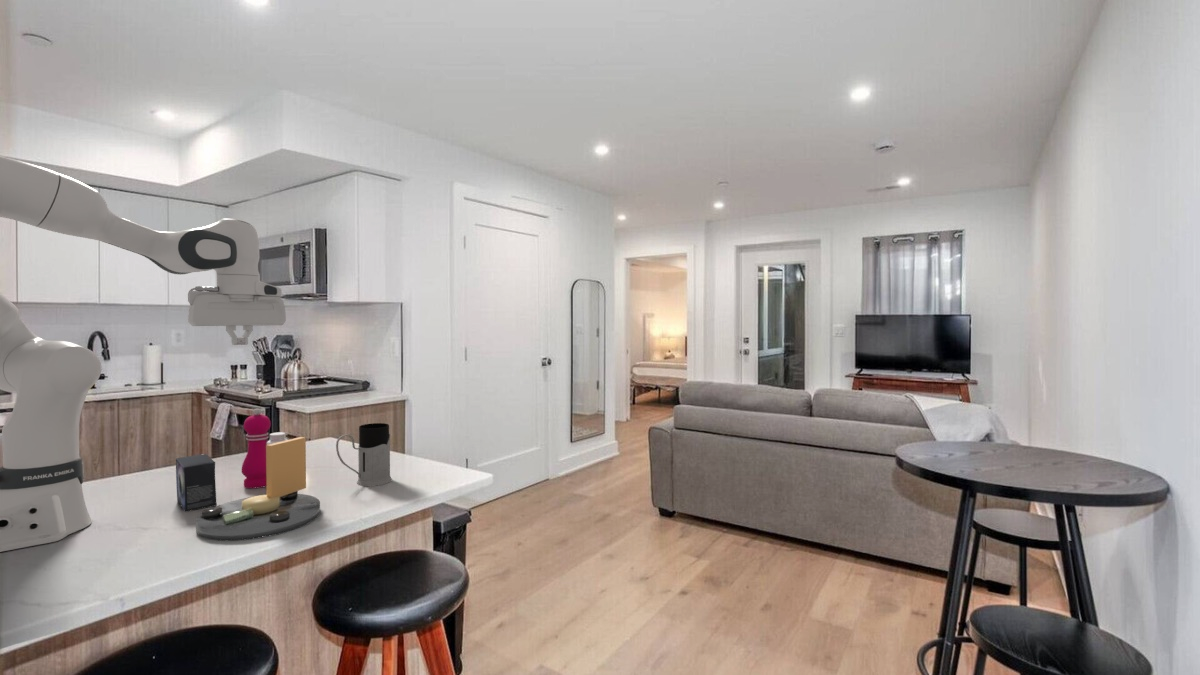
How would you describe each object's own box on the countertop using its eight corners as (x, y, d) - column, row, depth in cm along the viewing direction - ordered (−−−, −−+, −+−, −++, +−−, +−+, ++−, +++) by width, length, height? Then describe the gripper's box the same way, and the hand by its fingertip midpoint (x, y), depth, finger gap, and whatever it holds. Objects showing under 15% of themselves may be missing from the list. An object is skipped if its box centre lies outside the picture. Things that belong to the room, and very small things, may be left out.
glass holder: (397, 481, 151) (397, 425, 150) (343, 493, 140) (343, 433, 140) (382, 474, 157) (382, 421, 156) (330, 485, 146) (329, 428, 146)
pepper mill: (263, 489, 143) (262, 411, 142) (235, 488, 143) (233, 410, 142) (280, 481, 150) (279, 406, 149) (253, 480, 150) (252, 406, 149)
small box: (174, 501, 133) (173, 457, 133) (207, 495, 138) (206, 452, 137) (183, 512, 126) (182, 466, 125) (217, 505, 130) (216, 461, 130)
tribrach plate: (221, 550, 106) (221, 529, 106) (179, 522, 120) (179, 503, 120) (339, 516, 124) (339, 498, 124) (291, 495, 138) (291, 479, 138)
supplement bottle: (293, 466, 164) (293, 431, 164) (280, 471, 158) (280, 435, 158) (275, 465, 164) (275, 431, 164) (262, 471, 159) (261, 435, 159)
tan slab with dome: (257, 516, 117) (256, 452, 117) (234, 511, 120) (233, 449, 119) (315, 495, 131) (314, 438, 130) (292, 492, 133) (292, 435, 133)
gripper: (192, 285, 126) (194, 346, 126) (288, 289, 142) (289, 343, 142) (183, 286, 129) (184, 345, 130) (277, 289, 146) (277, 342, 146)
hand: (239, 344), depth 136 cm, fingers closed
